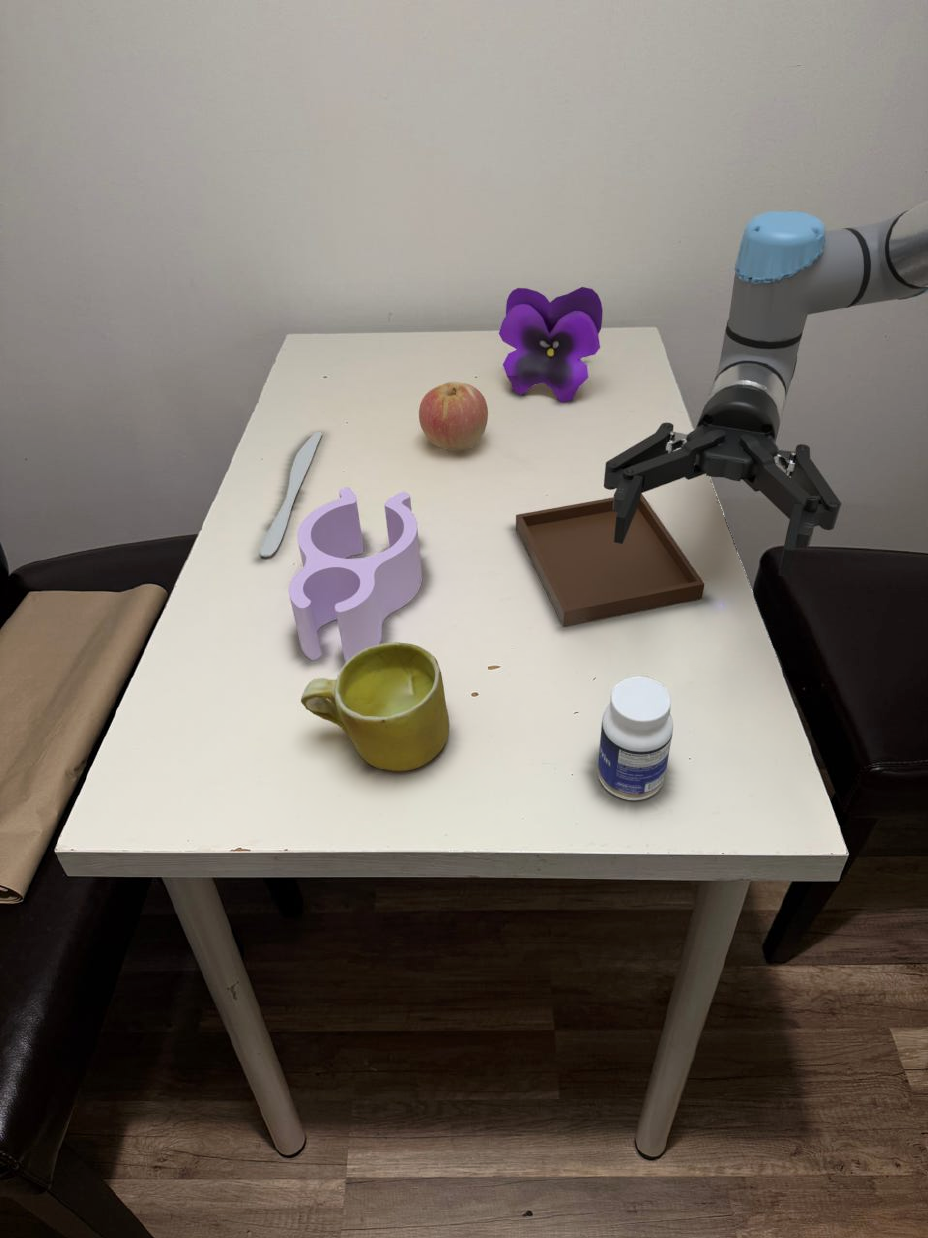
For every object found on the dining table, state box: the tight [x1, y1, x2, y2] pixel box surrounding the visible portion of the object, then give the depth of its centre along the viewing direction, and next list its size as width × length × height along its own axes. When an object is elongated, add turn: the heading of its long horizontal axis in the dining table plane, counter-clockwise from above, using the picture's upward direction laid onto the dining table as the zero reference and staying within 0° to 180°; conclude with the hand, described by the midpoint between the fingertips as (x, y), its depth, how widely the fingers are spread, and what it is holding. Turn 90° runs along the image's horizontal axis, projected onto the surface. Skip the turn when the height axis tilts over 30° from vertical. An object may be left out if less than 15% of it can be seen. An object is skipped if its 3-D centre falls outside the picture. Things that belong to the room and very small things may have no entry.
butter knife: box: [258, 431, 323, 558], centre depth 110 cm, size 1×27×3 cm
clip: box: [288, 487, 423, 663], centre depth 93 cm, size 20×12×7 cm, turn 169°
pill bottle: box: [597, 676, 674, 801], centre depth 73 cm, size 6×6×10 cm
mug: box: [300, 641, 450, 772], centre depth 78 cm, size 12×10×10 cm
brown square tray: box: [515, 493, 706, 627], centre depth 97 cm, size 17×15×2 cm
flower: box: [498, 286, 604, 403], centre depth 127 cm, size 15×15×14 cm
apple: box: [418, 381, 489, 451], centre depth 115 cm, size 9×9×8 cm
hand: (700, 546), depth 73 cm, fingers open, 13 cm apart
